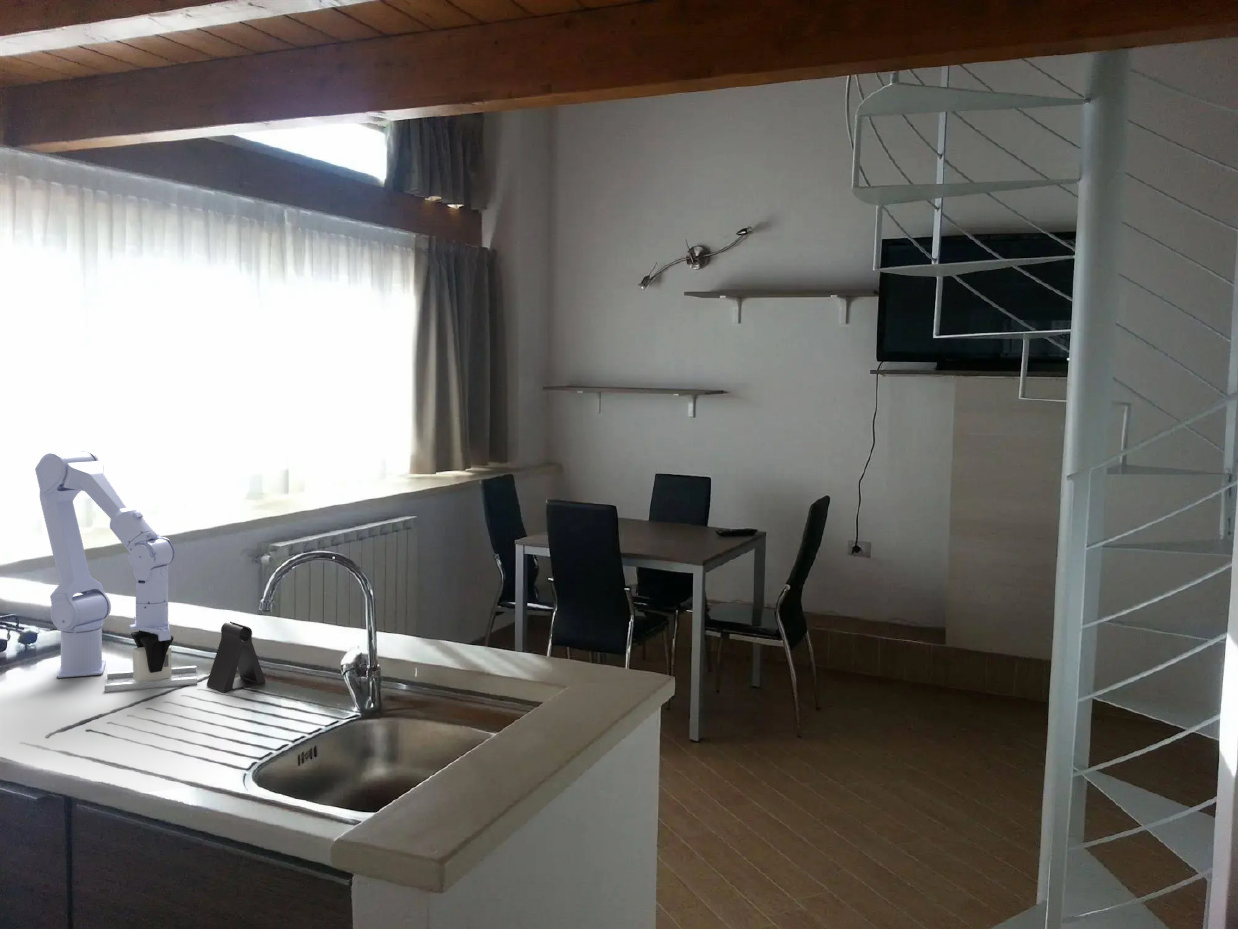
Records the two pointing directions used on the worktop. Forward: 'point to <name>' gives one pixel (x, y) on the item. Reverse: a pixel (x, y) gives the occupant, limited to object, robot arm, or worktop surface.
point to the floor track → (126, 681)
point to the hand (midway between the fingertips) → (152, 669)
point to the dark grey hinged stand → (235, 660)
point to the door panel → (142, 669)
